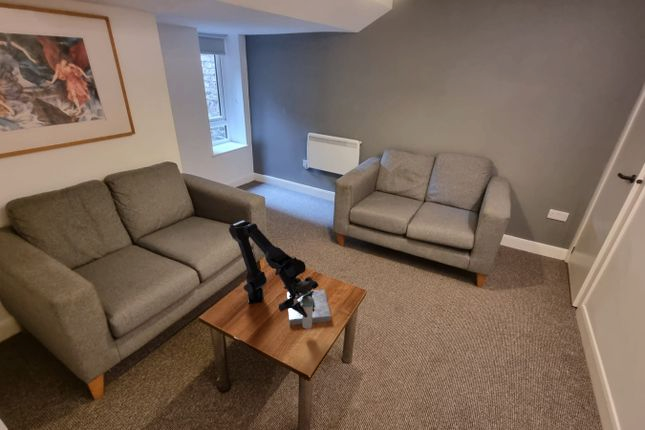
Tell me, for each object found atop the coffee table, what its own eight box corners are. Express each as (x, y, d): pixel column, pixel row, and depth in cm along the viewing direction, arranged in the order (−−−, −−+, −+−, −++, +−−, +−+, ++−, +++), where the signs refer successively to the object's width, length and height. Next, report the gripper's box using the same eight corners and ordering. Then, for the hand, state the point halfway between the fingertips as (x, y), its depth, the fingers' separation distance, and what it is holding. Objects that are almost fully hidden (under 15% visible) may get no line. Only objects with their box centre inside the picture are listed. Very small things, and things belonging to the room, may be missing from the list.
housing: (289, 324, 134) (289, 319, 133) (287, 297, 150) (287, 292, 149) (330, 321, 137) (330, 315, 136) (324, 294, 153) (324, 289, 152)
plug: (302, 329, 126) (302, 304, 121) (301, 321, 130) (301, 296, 125) (313, 328, 127) (314, 303, 121) (312, 320, 131) (312, 295, 125)
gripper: (283, 285, 114) (305, 323, 113) (316, 264, 127) (336, 297, 126) (269, 293, 122) (289, 328, 120) (301, 272, 135) (320, 304, 134)
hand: (310, 314), depth 125 cm, fingers closed on plug, 4 cm apart
